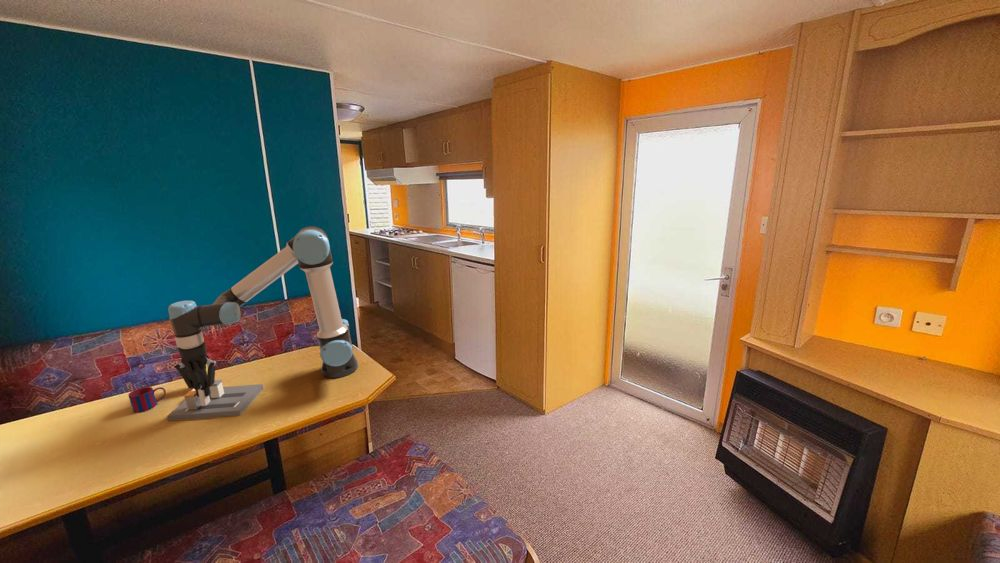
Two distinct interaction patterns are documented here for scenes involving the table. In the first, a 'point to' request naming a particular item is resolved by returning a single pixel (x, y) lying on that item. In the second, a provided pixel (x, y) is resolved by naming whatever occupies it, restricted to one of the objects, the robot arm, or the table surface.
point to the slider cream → (216, 389)
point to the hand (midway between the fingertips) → (206, 403)
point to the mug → (144, 399)
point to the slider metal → (192, 400)
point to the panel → (220, 404)
